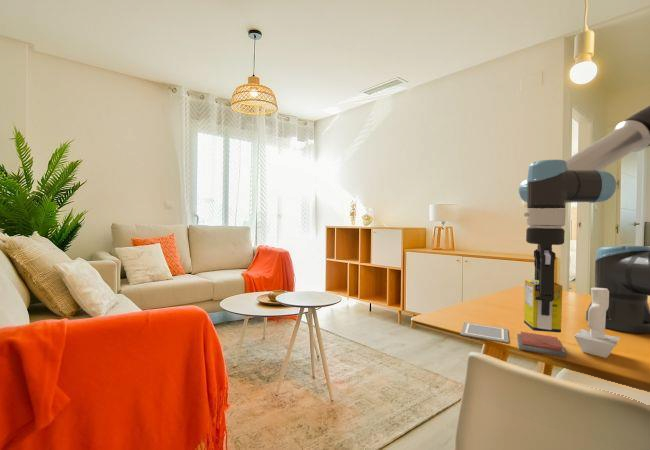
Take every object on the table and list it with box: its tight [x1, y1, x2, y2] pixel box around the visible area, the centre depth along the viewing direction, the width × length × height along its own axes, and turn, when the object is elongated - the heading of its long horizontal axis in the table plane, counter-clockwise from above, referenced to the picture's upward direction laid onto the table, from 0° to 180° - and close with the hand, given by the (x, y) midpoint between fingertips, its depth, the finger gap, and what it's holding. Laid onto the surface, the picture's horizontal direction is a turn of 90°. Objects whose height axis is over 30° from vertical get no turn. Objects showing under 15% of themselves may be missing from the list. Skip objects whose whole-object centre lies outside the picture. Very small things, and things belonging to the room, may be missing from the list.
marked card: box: [460, 321, 510, 344], centre depth 90 cm, size 11×11×1 cm
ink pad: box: [516, 331, 567, 358], centre depth 80 cm, size 9×8×2 cm
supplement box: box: [523, 279, 563, 334], centre depth 80 cm, size 6×6×11 cm
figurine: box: [574, 287, 621, 359], centre depth 78 cm, size 7×9×15 cm
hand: (542, 323), depth 80 cm, fingers closed on supplement box, 7 cm apart
